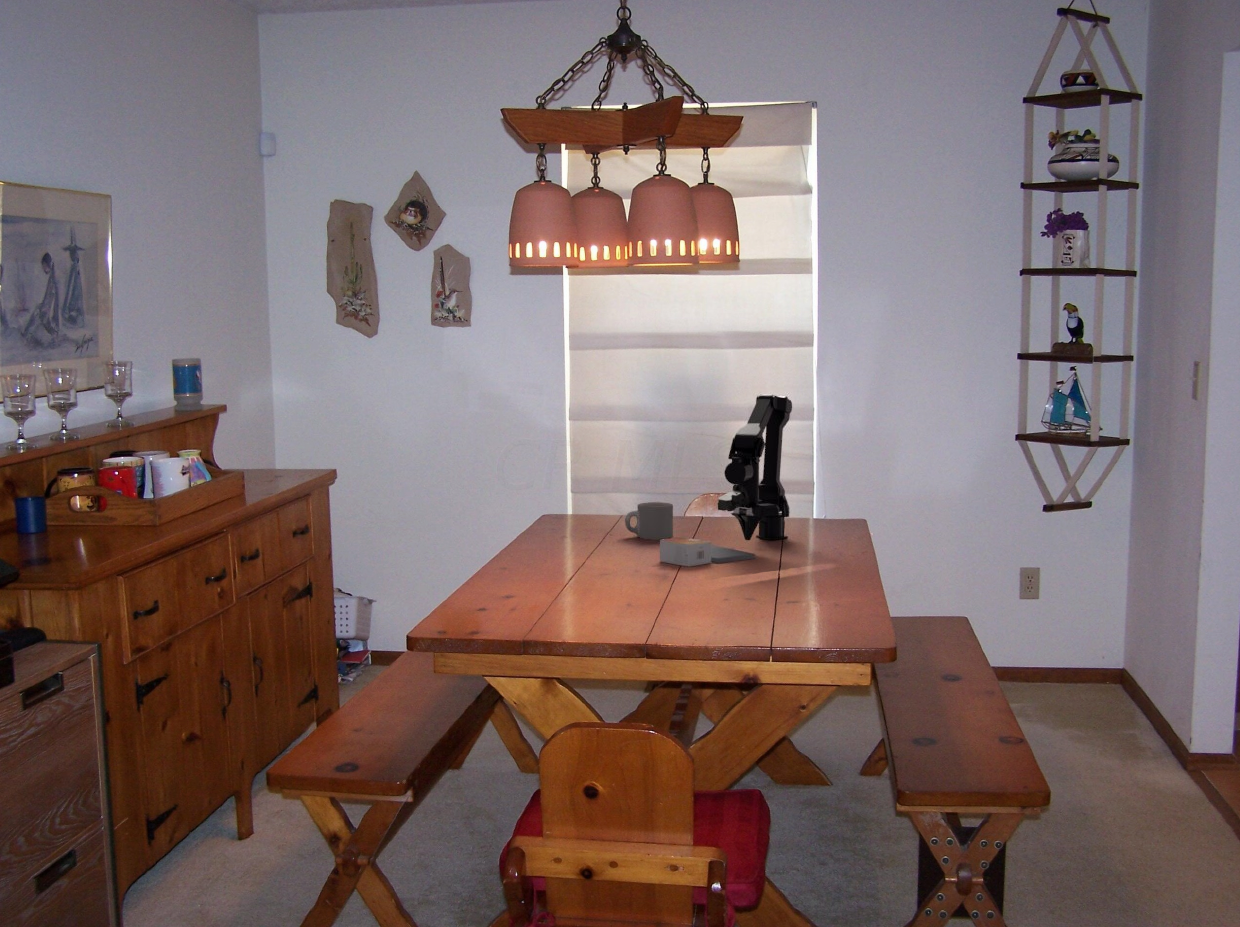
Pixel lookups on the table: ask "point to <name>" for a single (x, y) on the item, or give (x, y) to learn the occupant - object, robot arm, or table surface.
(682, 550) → the small box
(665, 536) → the coffee mug
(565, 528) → the table surface
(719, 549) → the mat
